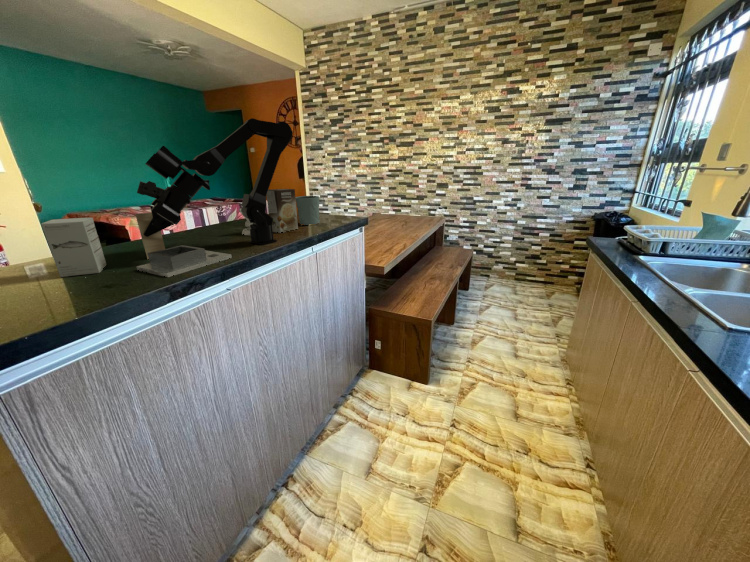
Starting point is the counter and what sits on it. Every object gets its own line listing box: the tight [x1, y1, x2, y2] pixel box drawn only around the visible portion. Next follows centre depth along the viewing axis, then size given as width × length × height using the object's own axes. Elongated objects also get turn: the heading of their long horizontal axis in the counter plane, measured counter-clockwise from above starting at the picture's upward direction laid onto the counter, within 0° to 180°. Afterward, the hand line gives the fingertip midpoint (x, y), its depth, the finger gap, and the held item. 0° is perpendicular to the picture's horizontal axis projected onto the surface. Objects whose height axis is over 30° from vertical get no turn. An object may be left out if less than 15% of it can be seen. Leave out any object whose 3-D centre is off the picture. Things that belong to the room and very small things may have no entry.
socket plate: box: [135, 244, 232, 278], centre depth 80 cm, size 18×12×4 cm, turn 155°
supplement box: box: [41, 217, 107, 278], centre depth 73 cm, size 7×7×13 cm
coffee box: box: [266, 188, 299, 234], centre depth 121 cm, size 9×6×16 cm
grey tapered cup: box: [295, 195, 320, 225], centre depth 135 cm, size 10×10×12 cm
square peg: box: [135, 212, 166, 260], centre depth 86 cm, size 5×5×12 cm
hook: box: [239, 208, 253, 236], centre depth 116 cm, size 8×12×7 cm
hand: (145, 234), depth 85 cm, fingers closed on square peg, 5 cm apart
